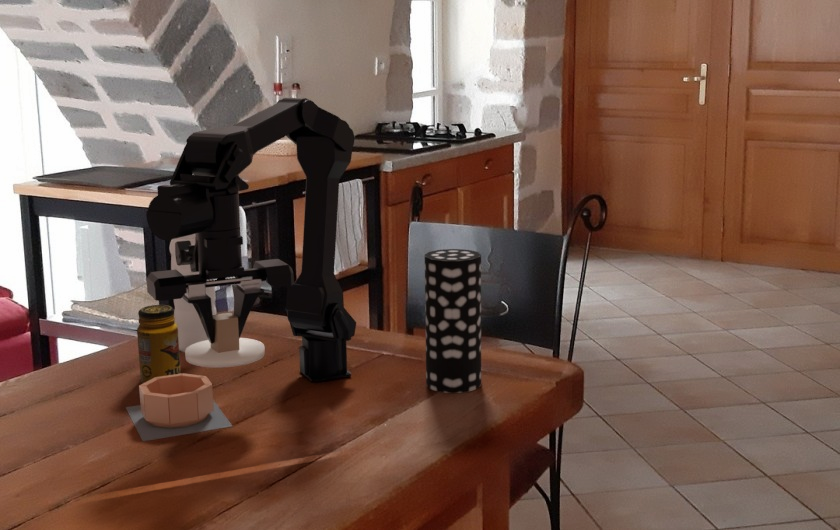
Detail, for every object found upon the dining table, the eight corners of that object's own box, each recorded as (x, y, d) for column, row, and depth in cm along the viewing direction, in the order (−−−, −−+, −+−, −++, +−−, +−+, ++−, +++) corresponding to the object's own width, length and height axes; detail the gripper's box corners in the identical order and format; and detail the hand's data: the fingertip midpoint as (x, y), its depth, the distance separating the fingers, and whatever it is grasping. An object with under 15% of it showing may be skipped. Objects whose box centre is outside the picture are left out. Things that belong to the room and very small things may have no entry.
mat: (209, 398, 157) (209, 394, 157) (233, 430, 145) (232, 426, 145) (125, 411, 153) (125, 407, 153) (142, 445, 140) (142, 441, 140)
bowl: (203, 401, 155) (201, 370, 154) (218, 422, 146) (216, 390, 145) (138, 411, 151) (135, 379, 150) (149, 433, 143) (147, 400, 142)
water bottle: (168, 347, 182) (158, 202, 177) (204, 339, 187) (195, 197, 182) (190, 356, 177) (180, 207, 172) (226, 347, 182) (218, 202, 176)
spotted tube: (452, 397, 157) (451, 263, 152) (414, 383, 163) (412, 254, 158) (492, 384, 162) (492, 254, 157) (454, 371, 168) (454, 246, 164)
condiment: (190, 385, 163) (185, 309, 161) (136, 396, 159) (130, 318, 156) (173, 373, 169) (168, 299, 167) (120, 383, 165) (114, 308, 162)
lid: (248, 340, 153) (246, 302, 151) (276, 359, 144) (275, 319, 142) (175, 351, 147) (172, 313, 146) (200, 372, 139) (198, 331, 137)
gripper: (267, 213, 153) (271, 318, 156) (134, 224, 145) (142, 335, 148) (293, 225, 143) (297, 337, 146) (152, 237, 135) (160, 356, 139)
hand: (224, 340), depth 145 cm, fingers closed on lid, 3 cm apart
